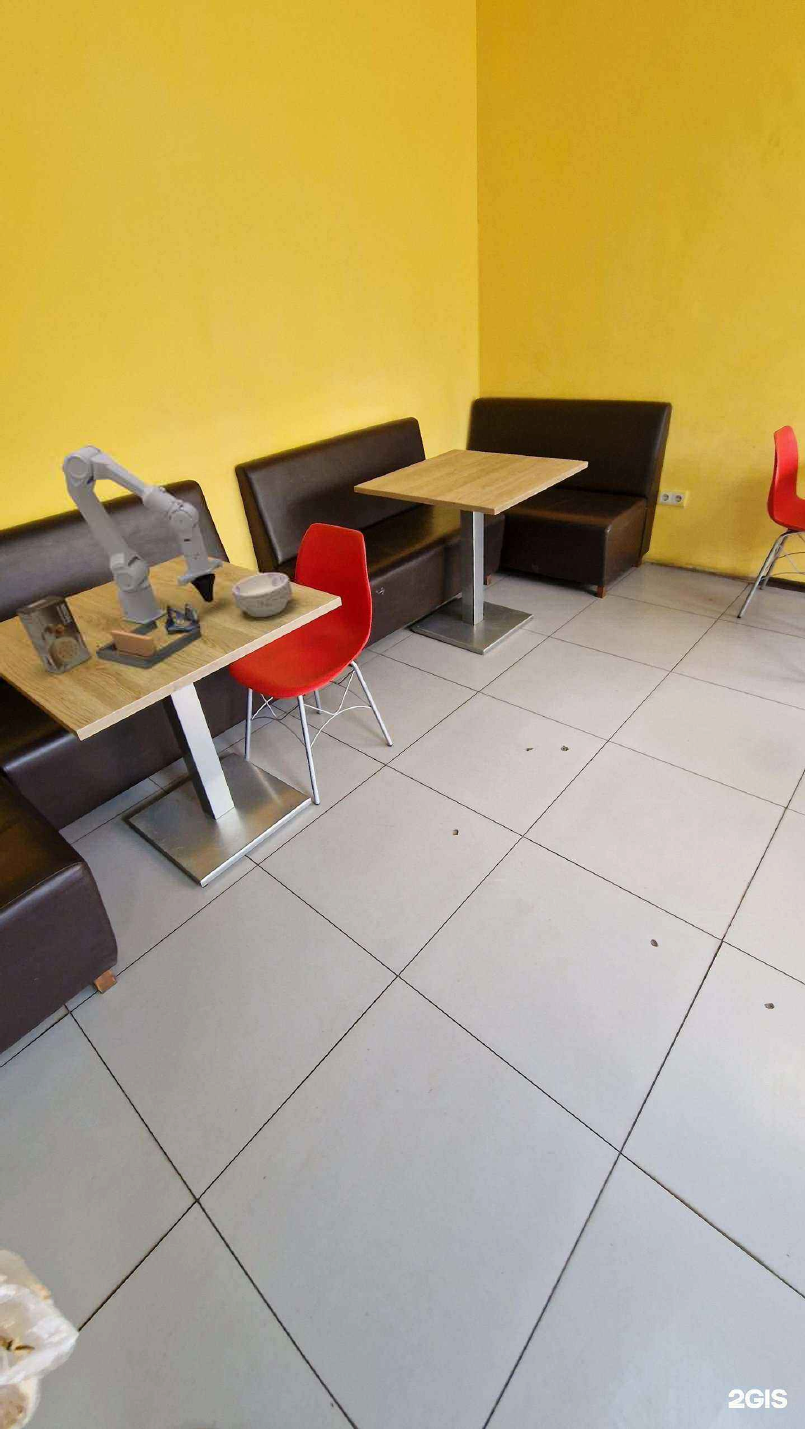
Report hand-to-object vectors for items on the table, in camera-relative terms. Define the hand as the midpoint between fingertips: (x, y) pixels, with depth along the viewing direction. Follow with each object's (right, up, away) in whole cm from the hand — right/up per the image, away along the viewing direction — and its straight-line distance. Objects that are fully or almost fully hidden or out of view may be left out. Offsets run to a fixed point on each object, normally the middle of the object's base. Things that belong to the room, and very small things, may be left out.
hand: (209, 601), depth 172 cm
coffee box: (-29, -19, -17) cm, 39 cm away
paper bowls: (+16, -3, -2) cm, 17 cm away
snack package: (-5, -8, -4) cm, 10 cm away
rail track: (-10, -13, -13) cm, 21 cm away
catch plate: (-12, -16, -16) cm, 26 cm away
